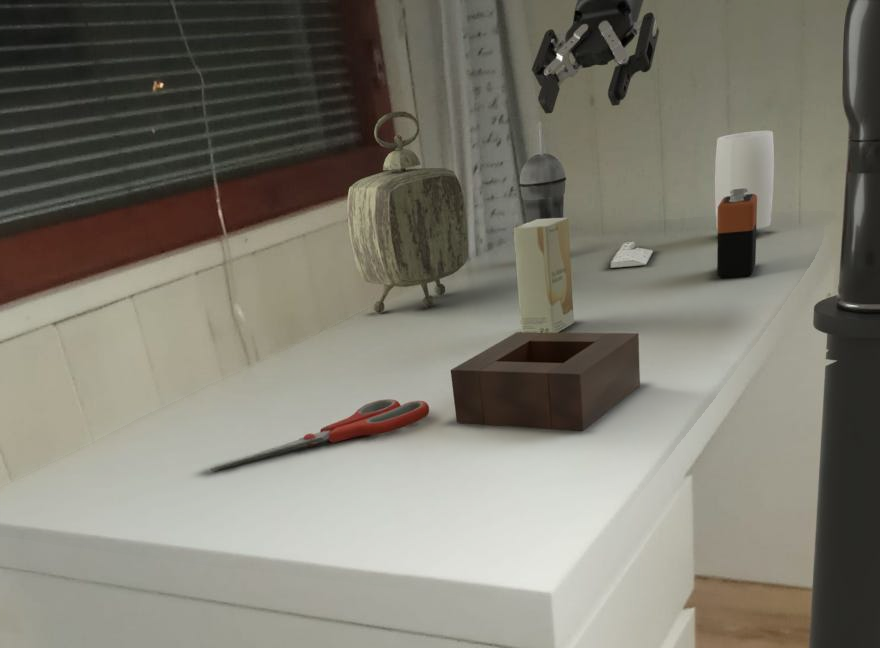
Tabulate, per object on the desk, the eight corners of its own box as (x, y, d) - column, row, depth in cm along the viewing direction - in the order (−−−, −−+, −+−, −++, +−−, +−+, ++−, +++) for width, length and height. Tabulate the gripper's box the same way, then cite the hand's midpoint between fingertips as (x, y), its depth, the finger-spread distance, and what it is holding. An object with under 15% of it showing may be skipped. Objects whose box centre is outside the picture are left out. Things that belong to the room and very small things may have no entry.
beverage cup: (519, 265, 158) (508, 127, 149) (531, 256, 164) (521, 122, 154) (564, 262, 155) (556, 121, 146) (575, 252, 161) (567, 116, 151)
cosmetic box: (554, 336, 115) (546, 226, 110) (520, 336, 117) (511, 228, 112) (576, 322, 120) (570, 215, 114) (543, 322, 122) (535, 217, 116)
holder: (640, 385, 94) (638, 333, 92) (583, 431, 85) (579, 374, 83) (520, 381, 101) (516, 332, 99) (456, 422, 92) (450, 369, 90)
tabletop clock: (444, 292, 148) (422, 106, 136) (481, 297, 141) (461, 101, 129) (362, 315, 142) (331, 122, 130) (396, 321, 135) (367, 118, 123)
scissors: (208, 470, 90) (205, 455, 90) (393, 405, 100) (391, 391, 100) (248, 488, 85) (244, 472, 84) (439, 417, 94) (438, 403, 94)
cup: (782, 229, 153) (785, 128, 147) (756, 240, 148) (758, 136, 142) (730, 230, 159) (731, 133, 152) (704, 241, 154) (704, 141, 147)
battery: (755, 265, 133) (757, 185, 129) (752, 276, 128) (754, 193, 123) (721, 268, 135) (722, 189, 130) (716, 279, 129) (717, 197, 125)
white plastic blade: (656, 245, 156) (656, 238, 155) (645, 266, 143) (645, 258, 143) (623, 248, 157) (623, 240, 157) (609, 268, 145) (609, 260, 145)
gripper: (548, -27, 119) (512, 89, 117) (663, -51, 112) (626, 73, 109) (570, 21, 126) (536, 132, 123) (680, 2, 118) (646, 120, 115)
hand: (578, 104), depth 116 cm, fingers open, 8 cm apart
